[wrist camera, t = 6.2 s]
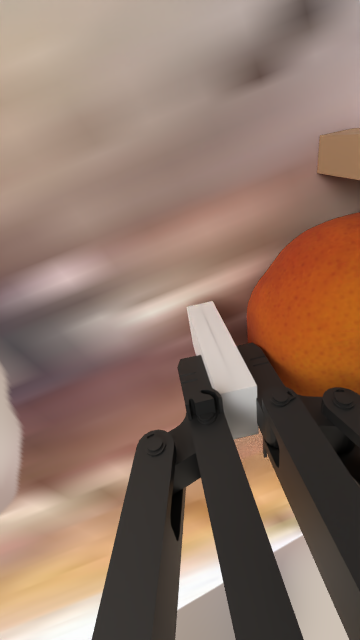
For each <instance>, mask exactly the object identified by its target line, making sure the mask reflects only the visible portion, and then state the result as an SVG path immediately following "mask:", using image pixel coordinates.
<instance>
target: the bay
mask: <svg viewBox="0 0 360 640" xmlns="http://www.w3.org/2000/svg"><path fill="white" fill-rule="evenodd" d="M317 173H320V174H326V175H332V176H338V177H344V178H350V179H356V180H360V128H353V129H348V130H343V131H339V132H334V133H330V134H325V135H320V139H319V155H318V170H317Z"/></svg>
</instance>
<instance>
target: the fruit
mask: <svg viewBox="0 0 360 640" xmlns="http://www.w3.org/2000/svg"><path fill="white" fill-rule="evenodd" d="M247 331H248V332H247V337H248V343H254V344H255V345H257V346H258V347H260V348H261V349H262V351H263V353H264V354H265V356H266V357H267V359H268V360H269V363H271V365H272V367H273V368H274V370H275V371H276V373H277V374H278V376H279V378H280V379H281V381H282V382H283V384H284V385H285V386H286V387H288V388H290V389H292V390H293V391H294V392H295V393H296V394H298V395H302V396H312V397H323V394H324V392H325V391H327V390H328V389H330V388H334V387H343V388H346V389H350V390H352V391H354V392H356V393H357V394H359V395H360V212H358V213H354V214H350V215H346V216H343V217H338V218H335V219H332V220H330V221H327V222H324V223H322V224H320V225H317V226H315V227H313V228H311V229H308V230H307V231H305V232H304V233H302V234H300V235H299V236H298V237H297V238H295V239H294V240H293V241H292V242H290V243H289V244H288V245H287V246H286V247H285V248H284V249H283V250H282V251H281V252H280V253H279V255H278V256H277V258H276V259H275V260H274V262H273V263H272V264H271V266H270V267H269V269H268V270H267V271H266V272H265V274H264V275H263V276H262V278H261V279H260V280H259V281H258V283H257V285H256V286H255V288H254V290H253V291H252V294H251V297H250V300H249V302H248V308H247Z"/></svg>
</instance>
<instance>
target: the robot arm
mask: <svg viewBox="0 0 360 640" xmlns="http://www.w3.org/2000/svg"><path fill="white" fill-rule="evenodd" d="M187 312H188V318H189V324H190V329H191V335H192V341H193V346H194V350H195V353H196V356H193V357H189V358H184V359H180V362H179V365H178V372H179V377H180V381H181V386H182V391H183V395H184V400H185V406H186V412H187V413H186V417H185V419H184V420H183V422H182V423H181V424H180V425H179V426H178V427H176V428H175V429H173V430H171V431H169V432H166V431H163V430H154V431H150V432H149V433H147V434H145V435H144V436H143V437H142V438H141V439H140V440H139V443H138V445H137V448H136V452H135V456H134V461H133V465H132V469H131V474H130V478H129V482H128V486H127V491H126V495H125V499H124V504H123V508H122V512H121V516H120V521H119V525H118V529H117V534H116V538H115V542H114V546H113V551H112V555H111V559H110V564H109V568H108V572H107V576H106V581H105V585H104V589H103V594H102V598H101V602H100V606H99V611H98V615H97V619H96V624H95V628H94V632H93V636H92V640H175V632H176V618H177V605H178V591H179V577H180V563H181V548H182V534H183V520H184V506H185V492H186V487H187V486H188V485H190V484H191V483H193V482H194V481H196V480H197V479H199V478H200V477H201V480H202V484H203V489H204V494H205V498H206V503H207V508H208V512H209V517H210V522H211V526H212V531H213V536H214V540H215V545H216V550H217V554H218V559H219V564H220V568H221V573H222V577H223V582H224V587H225V591H226V596H227V601H228V605H229V610H230V615H231V619H232V624H233V629H234V633H235V638H236V640H304V639H303V636H302V634H301V631H300V628H299V625H298V622H297V619H296V616H295V614H294V611H293V608H292V605H291V602H290V599H289V596H288V594H287V591H286V588H285V585H284V582H283V579H282V577H281V574H280V571H279V568H278V565H277V562H276V559H275V557H274V554H273V551H272V548H271V545H270V542H269V539H268V537H267V534H266V531H265V528H264V525H263V522H262V520H261V517H260V514H259V511H258V508H257V505H256V502H255V500H254V497H253V494H252V491H251V488H250V485H249V483H248V480H247V477H246V474H245V471H244V468H243V465H242V463H241V460H240V457H239V454H238V451H237V448H236V446H235V443H234V440H233V439H237V438H242V437H246V436H250V435H254V434H258V426H259V428H260V431H261V433H262V435H263V454H264V458H265V457H267V454H268V456H269V459H270V461H271V463H272V465H273V468H274V470H275V472H276V474H277V477H278V479H279V481H280V483H281V486H282V488H283V490H284V493H285V495H286V497H287V499H288V502H289V504H290V506H291V508H292V511H293V513H294V515H295V517H296V520H297V522H298V524H299V527H300V529H301V531H302V533H303V536H304V538H305V540H306V542H307V544H308V547H309V549H310V551H311V554H312V556H313V558H314V560H315V563H316V565H317V567H318V570H319V572H320V574H321V576H322V579H323V581H324V583H325V585H326V588H327V590H328V592H329V594H330V597H331V599H332V601H333V603H334V606H335V608H336V610H337V613H338V615H339V617H340V619H341V622H342V624H343V626H344V628H345V631H346V633H347V635H348V637H349V640H360V395H359V394H357V393H356V392H354V391H352V390H350V389H346V388H343V387H334V388H330V389H328V390H327V391H325V392H324V394H323V397H312V396H302V395H298V394H296V393H295V392H294V391H293V390H292V389H290V388H288V387H286V386H285V385H284V384H283V382H282V381H281V379H280V378H279V376H278V374H277V373H276V371H275V370H274V368H273V367H272V365H271V363H269V360H268V359H267V357H266V356H265V354H264V353H263V351H262V349H261V348H260V347H258V346H257V345H255V344H254V343H248V344H243V345H239V346H236V345H235V343H234V341H233V339H232V337H231V335H230V333H229V331H228V330H227V328H226V326H225V324H224V322H223V320H222V318H221V316H220V314H219V312H218V310H217V309H216V307H215V305H214V303H213V301H211V302H206V303H201V304H197V305H192V306H188V307H187Z"/></svg>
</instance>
